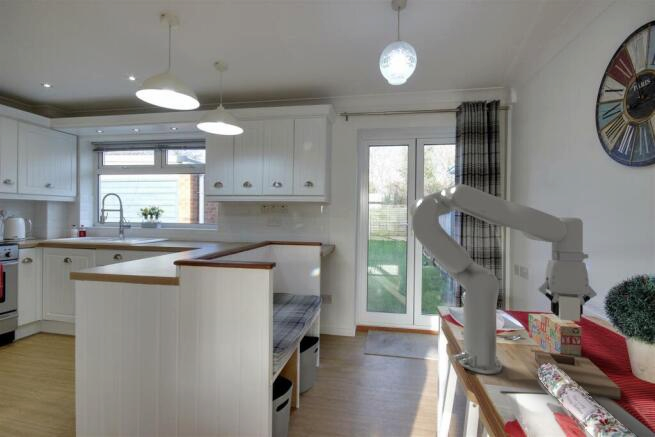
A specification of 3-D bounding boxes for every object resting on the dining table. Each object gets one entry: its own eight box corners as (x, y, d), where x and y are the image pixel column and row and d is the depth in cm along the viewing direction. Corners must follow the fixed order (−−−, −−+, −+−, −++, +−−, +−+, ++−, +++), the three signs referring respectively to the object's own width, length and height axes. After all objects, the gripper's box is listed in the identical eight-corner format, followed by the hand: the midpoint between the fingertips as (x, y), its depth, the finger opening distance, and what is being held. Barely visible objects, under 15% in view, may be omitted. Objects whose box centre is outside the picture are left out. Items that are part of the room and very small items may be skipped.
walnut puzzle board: (620, 399, 78) (620, 388, 78) (556, 389, 83) (556, 378, 83) (586, 366, 95) (586, 357, 95) (535, 359, 100) (535, 350, 99)
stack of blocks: (528, 336, 119) (528, 305, 119) (545, 337, 118) (545, 306, 118) (560, 362, 98) (560, 325, 98) (581, 363, 97) (582, 326, 97)
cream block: (580, 321, 89) (580, 298, 89) (560, 319, 91) (560, 296, 91) (572, 316, 94) (572, 294, 94) (553, 314, 96) (553, 292, 96)
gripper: (594, 256, 93) (594, 314, 93) (530, 254, 99) (530, 309, 99) (607, 260, 86) (607, 322, 86) (538, 257, 92) (538, 316, 92)
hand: (566, 314), depth 93 cm, fingers closed on cream block, 5 cm apart
